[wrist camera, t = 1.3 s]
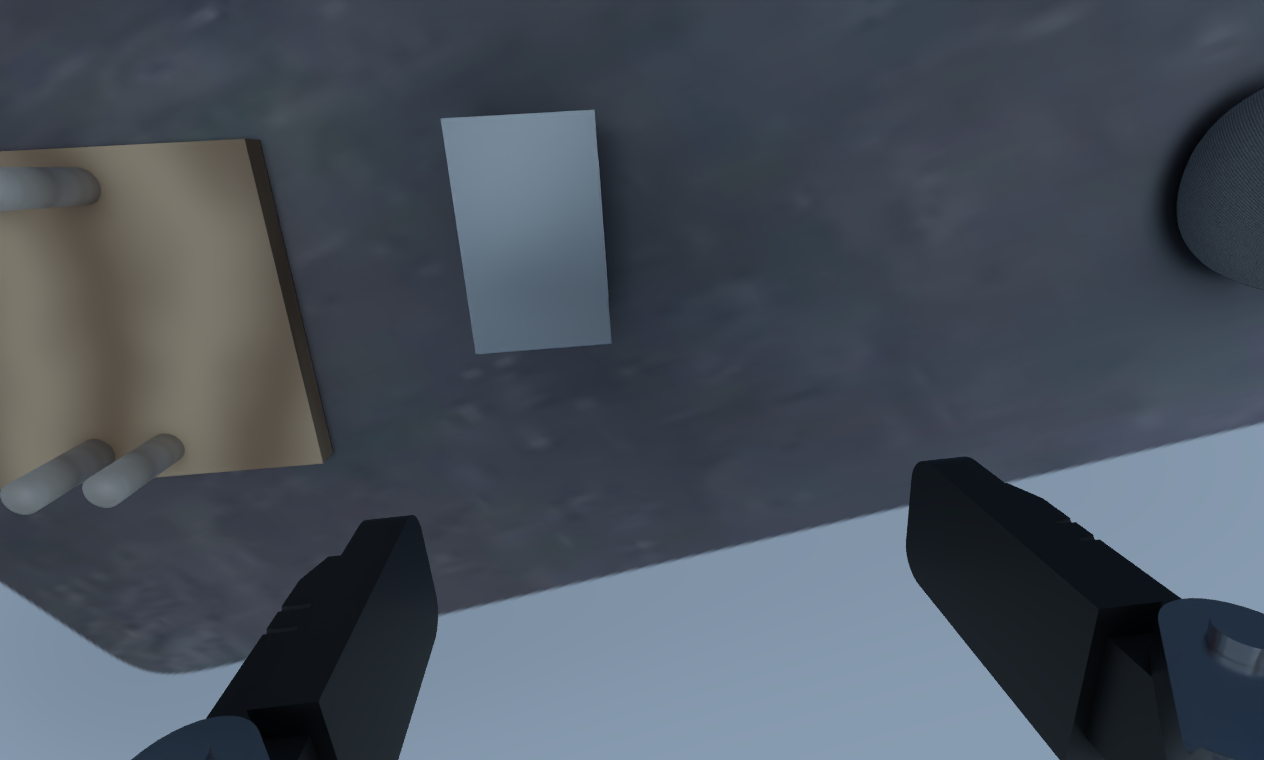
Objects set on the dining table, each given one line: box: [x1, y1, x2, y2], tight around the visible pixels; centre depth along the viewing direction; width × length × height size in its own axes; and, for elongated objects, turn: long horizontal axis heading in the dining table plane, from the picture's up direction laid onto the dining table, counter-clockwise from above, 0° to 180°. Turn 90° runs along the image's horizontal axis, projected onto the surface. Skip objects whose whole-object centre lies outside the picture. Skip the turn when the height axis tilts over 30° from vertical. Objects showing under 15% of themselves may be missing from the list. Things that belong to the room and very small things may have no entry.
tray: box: [0, 139, 333, 515], centre depth 24 cm, size 16×14×5 cm
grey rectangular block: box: [441, 110, 611, 354], centre depth 24 cm, size 5×8×6 cm, turn 3°
